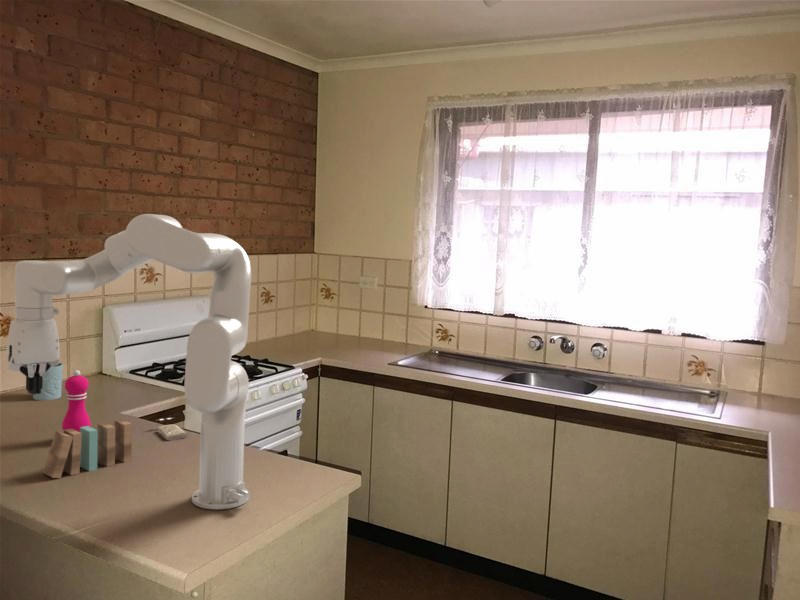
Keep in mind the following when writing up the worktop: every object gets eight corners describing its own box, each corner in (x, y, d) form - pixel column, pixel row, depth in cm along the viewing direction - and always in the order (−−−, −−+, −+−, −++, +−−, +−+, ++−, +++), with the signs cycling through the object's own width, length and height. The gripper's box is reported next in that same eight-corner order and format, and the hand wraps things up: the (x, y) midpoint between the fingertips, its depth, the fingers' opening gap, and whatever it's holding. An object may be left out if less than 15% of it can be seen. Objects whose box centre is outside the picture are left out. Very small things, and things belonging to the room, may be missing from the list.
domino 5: (131, 461, 173) (131, 423, 173) (124, 462, 172) (124, 424, 171) (121, 456, 177) (121, 419, 176) (114, 458, 175) (114, 420, 174)
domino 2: (79, 473, 163) (81, 433, 162) (71, 475, 161) (73, 434, 161) (69, 468, 166) (72, 428, 166) (61, 470, 164) (63, 429, 164)
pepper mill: (94, 441, 188) (95, 371, 186) (68, 446, 183) (68, 374, 181) (84, 435, 193) (84, 366, 191) (57, 439, 187) (58, 369, 186)
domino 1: (60, 478, 159) (73, 436, 161) (52, 477, 158) (65, 435, 159) (50, 472, 162) (63, 432, 164) (42, 472, 161) (55, 431, 162)
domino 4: (114, 465, 170) (115, 426, 169) (107, 467, 168) (107, 428, 167) (104, 460, 173) (105, 422, 172) (97, 462, 171) (97, 423, 171)
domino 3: (97, 469, 166) (97, 430, 165) (89, 471, 165) (89, 431, 164) (87, 464, 169) (87, 425, 169) (79, 466, 168) (79, 427, 167)
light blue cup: (64, 400, 229) (65, 366, 228) (31, 403, 223) (31, 368, 222) (60, 394, 237) (60, 360, 236) (27, 396, 231) (28, 362, 230)
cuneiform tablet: (174, 417, 202) (187, 427, 192) (174, 429, 202) (187, 440, 193) (154, 419, 199) (167, 430, 189) (154, 432, 199) (167, 443, 189)
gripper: (59, 311, 162) (59, 385, 163) (-9, 314, 150) (-8, 395, 152) (74, 314, 157) (74, 391, 159) (5, 318, 145) (6, 401, 147)
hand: (34, 392), depth 155 cm, fingers closed
